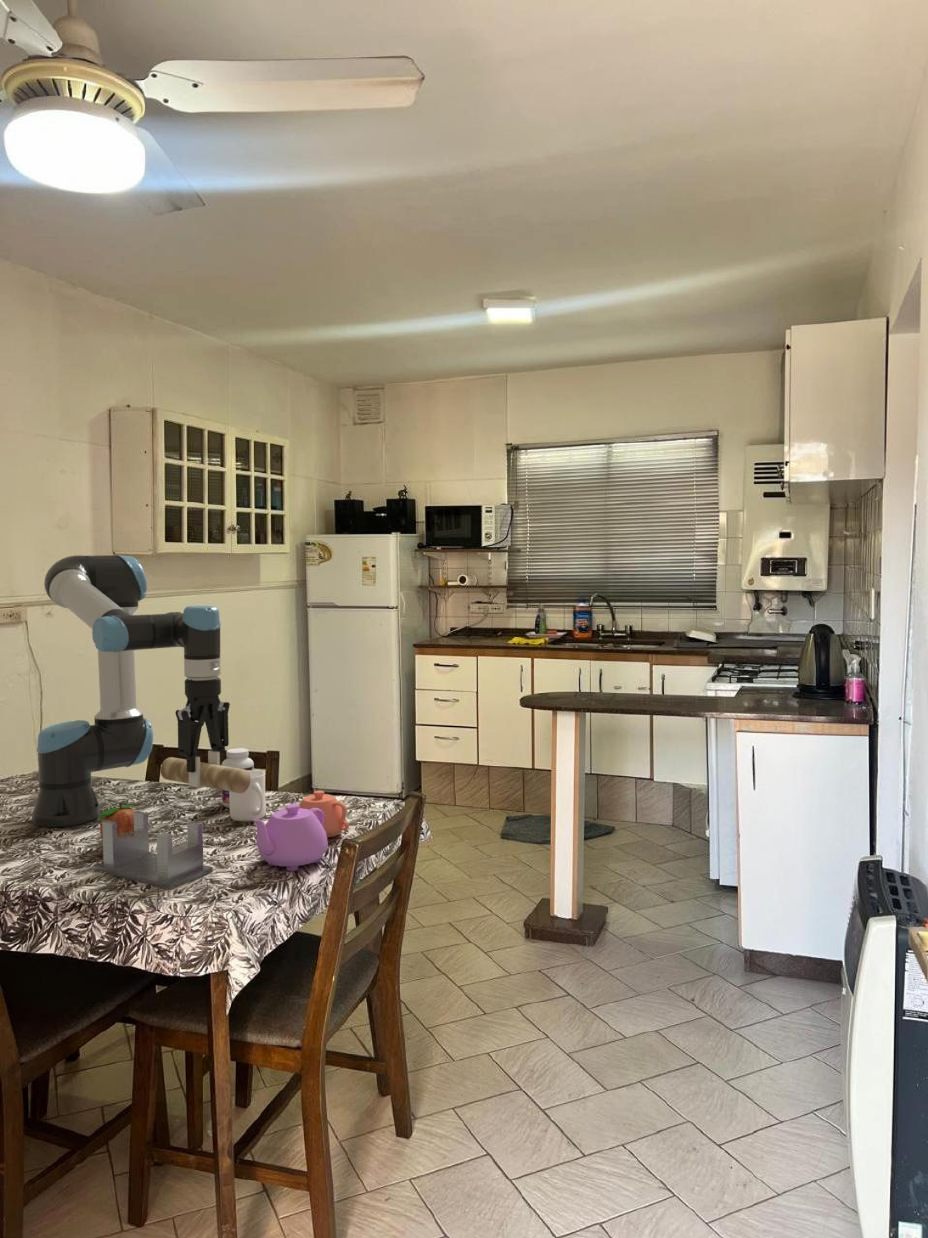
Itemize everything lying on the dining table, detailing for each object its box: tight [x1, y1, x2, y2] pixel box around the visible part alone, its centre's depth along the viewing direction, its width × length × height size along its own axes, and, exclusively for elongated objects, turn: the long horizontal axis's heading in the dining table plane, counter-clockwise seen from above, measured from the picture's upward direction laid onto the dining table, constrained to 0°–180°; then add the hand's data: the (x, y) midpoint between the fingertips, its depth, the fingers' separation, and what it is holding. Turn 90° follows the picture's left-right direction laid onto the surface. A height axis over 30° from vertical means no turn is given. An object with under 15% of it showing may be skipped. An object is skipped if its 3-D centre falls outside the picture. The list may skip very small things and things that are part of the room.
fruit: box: [97, 801, 139, 840], centre depth 192 cm, size 9×10×10 cm
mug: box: [229, 769, 267, 822], centre depth 213 cm, size 9×12×11 cm
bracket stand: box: [94, 810, 214, 891], centre depth 176 cm, size 22×11×10 cm, turn 60°
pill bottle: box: [221, 747, 255, 809], centre depth 224 cm, size 8×8×14 cm
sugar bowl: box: [298, 790, 350, 839], centre depth 199 cm, size 12×14×10 cm
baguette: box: [160, 756, 251, 793], centre depth 189 cm, size 22×5×5 cm, turn 60°
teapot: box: [251, 803, 329, 872], centre depth 180 cm, size 20×14×12 cm
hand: (204, 783), depth 189 cm, fingers closed on baguette, 5 cm apart
